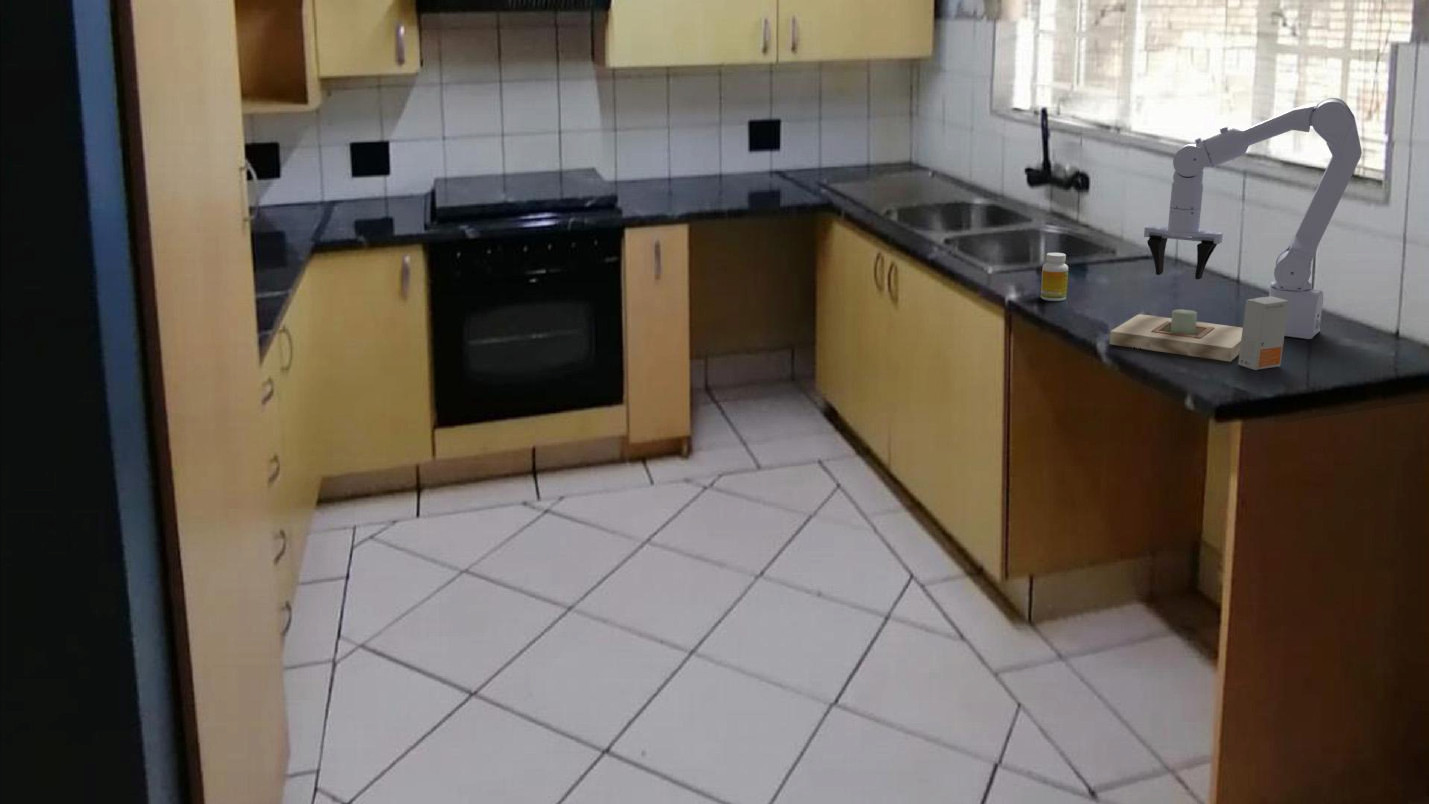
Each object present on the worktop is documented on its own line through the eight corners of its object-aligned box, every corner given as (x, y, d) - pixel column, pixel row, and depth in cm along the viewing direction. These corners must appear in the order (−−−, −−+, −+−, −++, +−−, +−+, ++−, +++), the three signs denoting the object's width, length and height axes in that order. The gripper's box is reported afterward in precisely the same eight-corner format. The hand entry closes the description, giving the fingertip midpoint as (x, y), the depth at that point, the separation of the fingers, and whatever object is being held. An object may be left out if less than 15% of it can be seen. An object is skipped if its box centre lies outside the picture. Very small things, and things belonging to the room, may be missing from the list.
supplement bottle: (1067, 301, 278) (1070, 256, 275) (1041, 301, 279) (1044, 256, 276) (1065, 296, 283) (1068, 252, 280) (1039, 295, 284) (1042, 251, 281)
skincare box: (1255, 371, 226) (1263, 304, 223) (1237, 365, 230) (1244, 299, 227) (1282, 366, 229) (1290, 300, 225) (1263, 361, 233) (1271, 295, 229)
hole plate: (1253, 342, 245) (1255, 328, 244) (1230, 361, 232) (1231, 347, 231) (1137, 326, 257) (1138, 313, 256) (1109, 344, 245) (1110, 330, 244)
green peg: (1192, 340, 246) (1195, 309, 244) (1195, 346, 242) (1198, 315, 240) (1167, 339, 247) (1170, 309, 245) (1170, 345, 243) (1173, 314, 241)
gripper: (1229, 207, 252) (1222, 276, 256) (1154, 201, 260) (1148, 268, 264) (1219, 212, 246) (1212, 283, 250) (1143, 206, 254) (1137, 274, 258)
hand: (1178, 276), depth 257 cm, fingers open, 7 cm apart
